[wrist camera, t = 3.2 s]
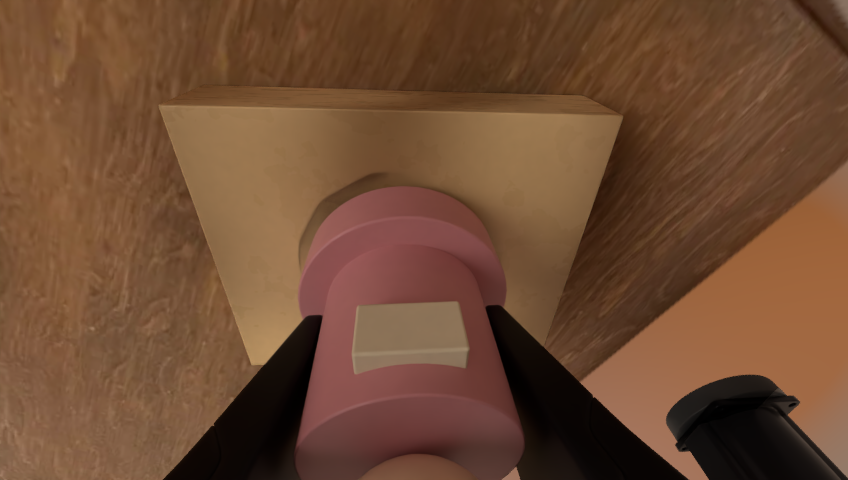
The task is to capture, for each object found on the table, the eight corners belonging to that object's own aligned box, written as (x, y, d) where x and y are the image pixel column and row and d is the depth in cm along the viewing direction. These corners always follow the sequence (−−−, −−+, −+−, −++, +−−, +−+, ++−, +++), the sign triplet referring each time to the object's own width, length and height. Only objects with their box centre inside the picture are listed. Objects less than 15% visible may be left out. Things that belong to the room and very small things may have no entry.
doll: (481, 326, 14) (608, 778, 6) (322, 333, 13) (221, 835, 5) (505, 183, 10) (885, 788, 2) (293, 186, 10) (-106, 955, 2)
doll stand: (583, 95, 12) (625, 115, 10) (523, 312, 17) (541, 354, 15) (201, 84, 11) (156, 104, 9) (268, 319, 16) (251, 365, 14)
